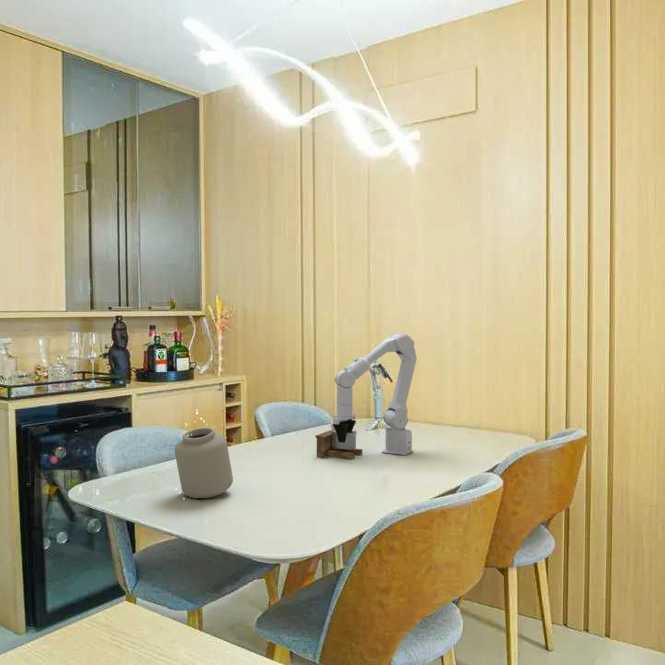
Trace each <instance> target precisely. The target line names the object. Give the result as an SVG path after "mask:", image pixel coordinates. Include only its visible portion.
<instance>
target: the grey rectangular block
mask: <svg viewBox="0 0 665 665" xmlns="http://www.w3.org/2000/svg"><path fill="white" fill-rule="evenodd" d="M356 432H357V430H356V431H346V436H345V442H344V443H342V442H339V441H338V437H337V433H336V430H334V431H331V448H337V449H347V450H352V449H354V448H356V449H357V434H356Z"/></svg>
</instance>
